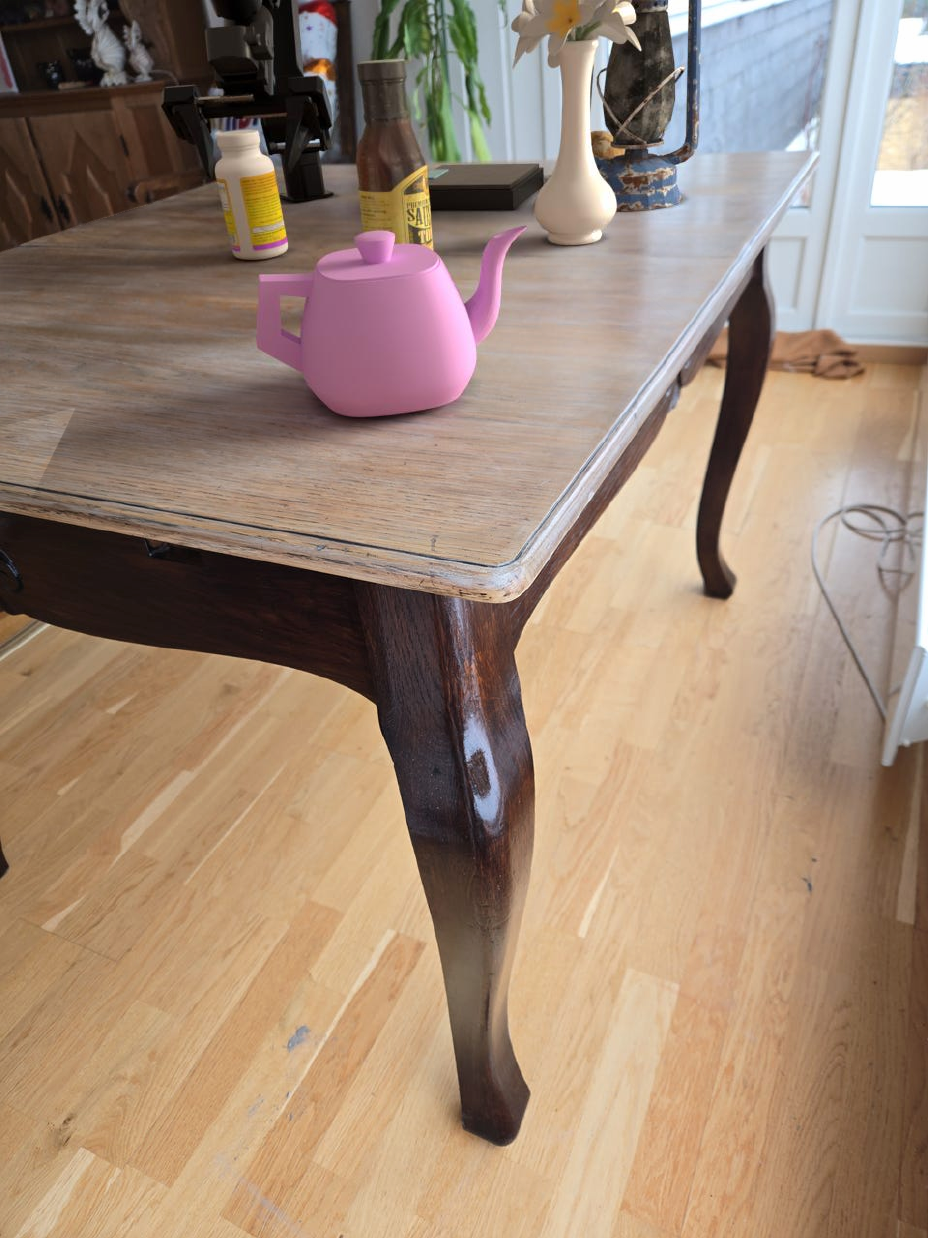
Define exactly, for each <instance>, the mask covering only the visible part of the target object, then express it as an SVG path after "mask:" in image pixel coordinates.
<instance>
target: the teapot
mask: <svg viewBox="0 0 928 1238" xmlns="http://www.w3.org/2000/svg"><path fill="white" fill-rule="evenodd" d="M527 227H528V226H527V225H521V226H517V227H513V228H510V229H507V230H505V231H503V232H500V233H498V234H496V235H494V236H492V238H491V239H490V240H489V241H488V242H487V244H486V245H485V248H484V250H483V253H482V259H481V264H480V274H479V281H478V285H477V288H476V290H475V292H474V294H473V295H472V296H471V297H470V298H469V299H467V300H466V301H465V302H464V300H463V297H462V296H461V295H462V294H461V292H460V291H459V289H458V287H457V285H456V283H455V281H454V279H453V277H452V276H451V274H450V272H449V270H448V268H447V266H446V265H445V263H444V261H443V260H442V259H441V257H440V255H439V254H438V253H437V252H436V251H434V249H433V250H432V249H430V248H428V247H426V246H423V245H419V244H409V243H408V244H394V241H395V234H394V233H392V232H389V231H370V232H364V233H363V232H362V233H361V232H360V234H357V235H356V236H354V238H353V240H354V243H355V246H356V247H355V248H348V249H342V250H337V251H333V252H330V253H328V254H326V255H324V256H322V257H321V258H320V259H319V261H318V262H317V264H316V265H315V268H314V271H313V273H267V274H266V273H264V274H263V273H262V274H261V273H260V274H258V291H257V294H258V295H257V314H256V317H257V318H256V338H255V341H256V349H257V350H259V351H261V352H263V353H265V354H267V355H268V356H270V357H272V358H275V359H276V360H278V361H280V362H281V363H283V364H285V365H286V366H289V367H290V368H292V369H294V370H295V371H298V372H300V373H302V376H303V379H304V380H305V382H306V384H307V386H308V387H309V388H310V389H311V391H312V392H313V393H314V394H315V396H317V398H318V399H319V400H320V401H321V402H322V403H323V404H324V405H325V406H326V407H327V408H328V409H329V410H331V411H332V412H334V413H337V414H339V415H341V416H346V417H355V418H363V417H364V418H365V417H368V418H369V417H379V416H380V417H381V416H382V417H383V416H390V415H400V414H408V413H413V412H418V411H425V410H429V409H434V408H439V407H443V406H445V405H448V404H450V403H452V402H454V401H455V400H457V399H458V398H459V397H461V395H462V393H463V392H464V391H465V389H466V387H467V386H468V384H469V382H470V379H471V378H472V375H473V374H474V371H475V368H476V363H477V346H478V345H479V344H481V342H482V341H484V340H485V339H486V338H487V337H488V336H489V334H490V333H491V331H492V330H493V328H494V326H495V324H496V321H497V319H498V316H499V312H500V307H501V297H502V296H501V295H502V292H501V291H502V272H503V265H504V261H505V257H506V254H507V253H508V250H509V249H510V247H511V245H512V243H513V242H514V241H515V240H516V239H517V238H518V236H520V235H521V234H522V233H523V232H525V230H526V229H527ZM281 296H287V297H297V298H298V297H299V298H305V301H304V306H303V310H302V316H301V322H300V333H299V336H297V335H295V334H294V333H292V332H289V331H288V330H286V329H283V328H282V316H281V315H282V313H281Z"/></svg>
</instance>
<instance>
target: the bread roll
mask: <svg viewBox="0 0 928 1238" xmlns="http://www.w3.org/2000/svg"><path fill="white" fill-rule="evenodd" d="M612 141H613V136H612V135H611V133H610V132H609V131H606V130H593V131H592V130H591V145H592V152H593V154H594V155H596V156H599V157H601V158H607V159H610V158H614V157H615V156H618V155H623V154H625V150H626V149H618V148H613V147H611V145H610V144H611V142H612Z"/></svg>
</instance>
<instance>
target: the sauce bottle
mask: <svg viewBox="0 0 928 1238" xmlns="http://www.w3.org/2000/svg"><path fill="white" fill-rule="evenodd" d="M356 71H357V80H358V83H359V85H360V88H361V96H362V107H363V120H364V123H365V126H364V129H363V133H362V135H361V138H360V140H359V141H358V143H357V144H358V145H357V150H356V154H355V157H356V158H355V165H356V172H357V179H358V187H357V192H358V200H359V208H360V216H361V226H362V233H364V232H370V231H389V232H392V233H394V234H395V241H394V244H408V243H409V244H419V245H423V246H426V247H428V248H430V249H432V250H433V251H434V240H433V228H432V213H431V210H430V200H429V188H428V174H427V173H428V165H427V161H426V159H425V156H424V154H423V151H422V149H421V146H420V144H419V142H418V139H417V137H416V134H415V131H414V129H413V125H412V124H411V121H410V113H409V111H408V100H407V88H406V87H407V86H406V81H407V77H408V76H407V75H408V73H407V66H406V60H405V59H404V58H389V59H375V60H367V61H359V62H357V63H356Z"/></svg>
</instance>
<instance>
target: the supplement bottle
mask: <svg viewBox="0 0 928 1238" xmlns="http://www.w3.org/2000/svg"><path fill="white" fill-rule="evenodd" d="M215 135H216V136H215V137H216V143H217V147H218V148H219V150H220V151H221V158H220V159H219V160H218V161H217V162H216V164H215V166H214V175H215V179H216V183H217V188H218V194H219V198H220V201H221V206H222V211H223V215H224V220H225V224H226V229H227V234H228V238H229V243H230V248H231V252H232V254H233V256H234V257H235V258H237V259H240V260H243V261H244V260H246V261H257V260H260V261H261V260H267V259H272V258H275V257H278V256H281V255H283V254H285V253H286V252H288V251H287V250H288V249H289V242H288V236H287V230H286V226H285V222H284V221H285V220H284V214H283V209H282V203H281V197H280V196H279V194H280V193H279V188H278V183H277V182H278V181H277V177H276V170H275V167H274V162H273V161H272V160H271V158H270V157H269V156H267V155H265V154H263V153H262V152H261V149H260V146H261V138H260V132H259V130H257V129H236V130H229V131H223V132H219V133H216V134H215Z"/></svg>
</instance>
